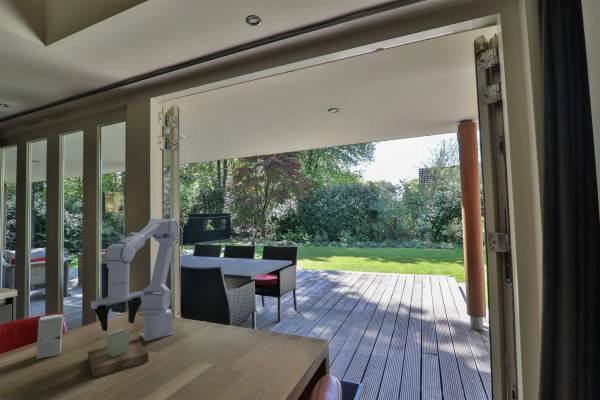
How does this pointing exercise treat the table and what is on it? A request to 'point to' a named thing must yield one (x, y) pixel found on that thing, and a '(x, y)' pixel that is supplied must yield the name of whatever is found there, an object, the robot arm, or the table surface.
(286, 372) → the table surface
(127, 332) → the sage block
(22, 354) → the table surface
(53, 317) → the skincare box
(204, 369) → the table surface
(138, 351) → the walnut base
